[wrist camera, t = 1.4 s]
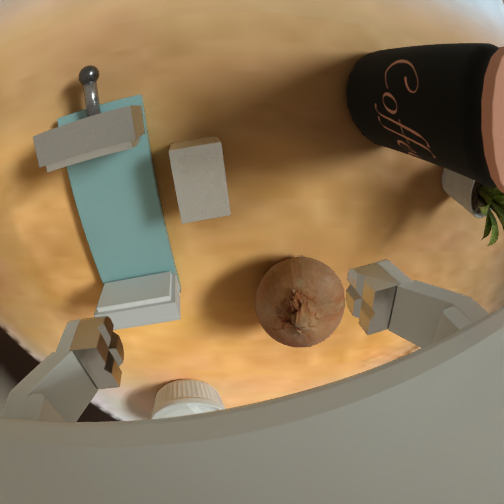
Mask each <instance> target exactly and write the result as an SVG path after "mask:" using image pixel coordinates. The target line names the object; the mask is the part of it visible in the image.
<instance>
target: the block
mask: <svg viewBox="0 0 504 504" xmlns="http://www.w3.org/2000/svg"><path fill="white" fill-rule="evenodd" d="M169 157H170V163H171V168H172V174H173V180H174V185H175V190H176V196H177V201H178V206H179V211H180V216H181V221H182V224H184V223H189V222H195V221H200V220H206V219H211V218H217V217H222V216H228V215H231V213H230V205H229V198H228V190H227V183H226V175H225V167H224V159H223V151H222V143H221V141H220V140H219V139H218V138H217V137H216V136H211V137H204V138H198V139H192V140H187V141H181V142H176V143H172V144H171V146H170V149H169Z"/></svg>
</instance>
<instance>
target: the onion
mask: <svg viewBox="0 0 504 504" xmlns="http://www.w3.org/2000/svg"><path fill="white" fill-rule="evenodd" d="M344 308H345V296H344V288H343V286H342V283H341V281H340V279H339V277H338V276H337V275H336V273H335V272H334V271H333V270H332V269H331V268H330V267H328V266H327V265H326V264H324V263H322V262H320V261H318V260H315V259H312V258H307V257H304V256H298V257H295V258H289V259H286V260H283V261H281V262H279V263H277V264H275V265H274V266H272V267H271V268H270V269H269V270H268V271H267V272H266V274H265V275H264V276H263V278H262V279H261V281H260V283H259V285H258V287H257V290H256V295H255V310H256V314H257V317H258V319H259V322H260V324H261V326H262V327H263V329H264V330H265V331H266V332H267V333H268V334H269V335H270V336H271V337H272V338H273V339H275V340H276V341H278V342H280V343H282V344H284V345H288V346H291V347H311V346H312V345H316V344H318V343H320V342H322V341H324V340H325V339H327V338H328V337H329V336H330V335H331V334H332V333H333V332H334V331H335V329H336V328H337V327H338V325H339V323H340V321H341V319H342V316H343V313H344Z"/></svg>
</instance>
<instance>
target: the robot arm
mask: <svg viewBox="0 0 504 504" xmlns="http://www.w3.org/2000/svg"><path fill="white" fill-rule="evenodd" d="M347 280H348V282H349V283H350V286H349V287H348V289H347V290H346V302H347V306H348V309H349V311H350V312H351V314H352V315H353V316H355V317H358V318H359V325H360V326H361V327H362V329H363V330H364V331H365V333H366V334H367V335H370V334H373V333H377V332H380V331H383V330H386V329H388V330H389V331H391V332H393V333H395V334H397V335H399V336H400V337H402V338H404V339H406V340H408V341H410V342H412V343H414V344H415V345H417V346H419V347H421V349H419V350H417V351H414V352H412V353H410V354H408V355H405V356H403V357H400V358H398V359H396V360H393V361H391V362H388V363H386V364H383V365H380V366H378V367H375V368H373V369H370V370H367V371H364V372H362V373H359V374H356V375H353V376H350V377H347V378H344V379H341V380H338V381H335V382H332V383H329V384H325V385H322V386H319V387H315V388H312V389H309V390H305V391H301V392H298V393H294V394H290V395H287V396H283V397H279V398H275V399H270V400H266V401H262V402H257V403H253V404H248V405H243V406H239V407H233V408H228V409H223V410H217V411H211V412H205V413H198V414H192V415H184V416H176V417H168V418H158V419H148V420H135V421H118V422H76V421H77V420H78V418H79V417H80V415H81V414H82V413H83V411H84V410H85V408H86V407H87V405H88V404H89V402H90V401H91V400H92V398H93V397H94V395H95V394H96V392H97V391H98V390H97V389H106V388H115V387H120V381H121V374H122V371H121V370H120V368H119V366H120V365H121V364H122V363H123V359H124V351H123V345H122V342H121V340H120V337H119V335H117V334H116V333H114V332H113V327H114V325H113V323H112V321H111V319H110V317H108V316H101V317H94V318H85V319H78V320H71V321H69V322H67V325H66V327H65V330H64V332H63V335H62V337H61V340H60V342H59V345H58V347H57V350H56V352H53V353H51V354H50V355H49V356H48V357H47V358H46V359H44V360H43V361H42V362H41V363H40V364H39V365H38V366H37V367H36V368H35V369H34V370H33V371H31V372H30V373H29V374H28V375H27V376H26V377H25V378H24V379H23V380H22V381H21V382H20V383H19V384H18V385H17V386H16V387H14V388H13V389H12V390H11V391H10V394H9V396H8V399H7V402H6V404H5V407H4V410H3V413H2V416H1V417H0V504H504V305H503V306H502V307H500V308H498V309H497V310H495V311H493V312H491V313H490V314H489V313H488V312H487V311H486V310H485V309H483V308H482V307H481V306H480V305H479V304H478V303H477V302H476V301H474V300H473V299H472V298H471V297H469V296H465V295H462V294H459V293H456V292H453V291H449V290H446V289H443V288H440V287H437V286H433V285H430V284H427V283H424V282H420V281H417V280H414V281H412V280H411V279H410V278H408V277H407V276H406V275H405V274H404V273H403V272H402V271H401V270H399V269H398V268H397V267H396V266H395V265H394V264H392V263H391V262H390V261H389V260H382V261H378V262H375V263H372V264H368V265H364V266H360V267H356V268H352V269H349V271H348V275H347Z"/></svg>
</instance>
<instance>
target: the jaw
mask: <svg viewBox="0 0 504 504" xmlns="http://www.w3.org/2000/svg"><path fill="white" fill-rule="evenodd" d="M98 77H99V71H98V69H97V68H96V67H95V66H86V67H84V68H83V69H82V70H81V71H80V73H79V81H80V83H81V84H82V85H83V90H84V98H85V105H86V112H87V118H83V119H80V120H77V121H74V122H71V123H68V124H65V125H62V126H59V127H57V128H54V129H51V130H48V131H46V132H43V133H41V134H38V135H36V136H33V140H34V145H35V150H36V155H37V159H38V164H39V168H40V167H43V166H46V169H47V173H48V172H51V171H54V170H57V169H60V168H63V167H66V166H69V165H72V164H76V163H79V162H83V161H86V160H89V159H93V158H97V157H100V156H104V155H108V154H112V153H116V152H120V151H124V150H128V149H132V148H134V147H135V146H136V145H138V144H139V143H140V142H141V136H142V135H144V134H145V128H144V122H143V116H142V109H141V105H130V106H126V107H122V108H118V109H114V110H111V111H107V112H103V113H101V111H100V104H99V97H98V90H97V82H96V81H97V80H98Z"/></svg>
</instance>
